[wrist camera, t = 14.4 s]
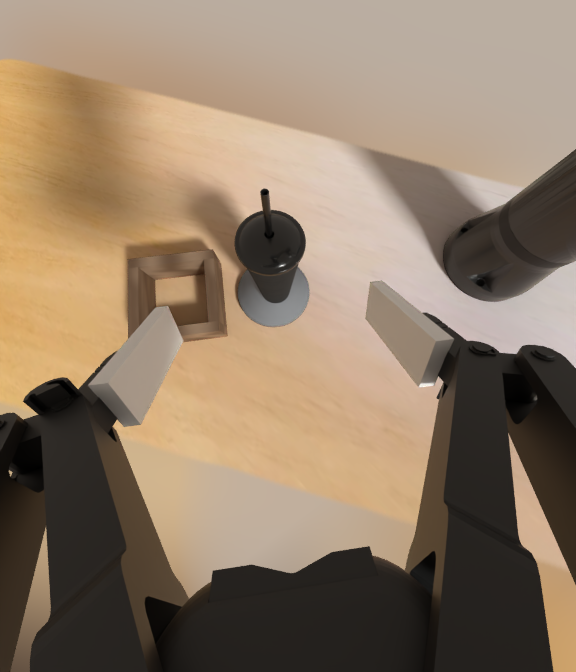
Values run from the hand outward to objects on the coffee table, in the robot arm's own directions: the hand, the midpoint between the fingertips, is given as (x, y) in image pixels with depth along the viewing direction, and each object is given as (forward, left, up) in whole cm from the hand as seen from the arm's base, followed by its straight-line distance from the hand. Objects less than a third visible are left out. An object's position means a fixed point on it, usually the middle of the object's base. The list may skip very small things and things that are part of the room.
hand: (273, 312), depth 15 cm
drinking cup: (0, -10, -21) cm, 23 cm away
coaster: (0, -10, -22) cm, 24 cm away
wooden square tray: (+15, -10, -22) cm, 28 cm away
